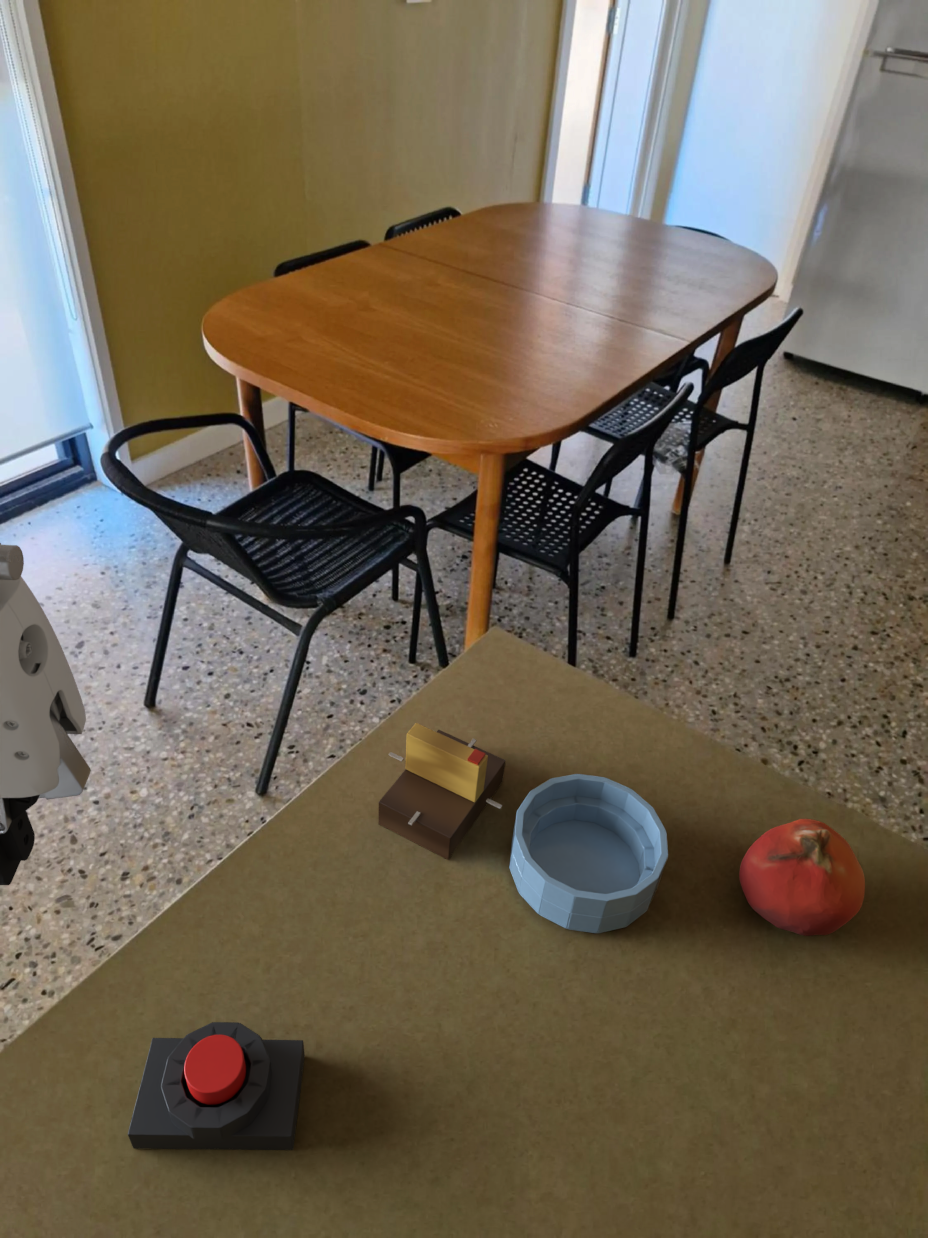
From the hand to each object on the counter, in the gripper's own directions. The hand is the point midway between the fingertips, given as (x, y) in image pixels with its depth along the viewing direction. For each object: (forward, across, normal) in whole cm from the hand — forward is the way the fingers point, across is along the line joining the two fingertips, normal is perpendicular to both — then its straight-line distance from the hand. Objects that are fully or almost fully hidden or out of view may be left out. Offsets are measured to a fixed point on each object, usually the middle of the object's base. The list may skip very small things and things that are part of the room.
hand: (4, 860), depth 45 cm
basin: (+23, -35, -17) cm, 45 cm away
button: (+20, -9, +2) cm, 22 cm away
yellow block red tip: (+20, -23, -23) cm, 39 cm away
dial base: (+23, -23, -23) cm, 40 cm away
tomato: (+23, -52, -14) cm, 59 cm away
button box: (+23, -9, +2) cm, 25 cm away
